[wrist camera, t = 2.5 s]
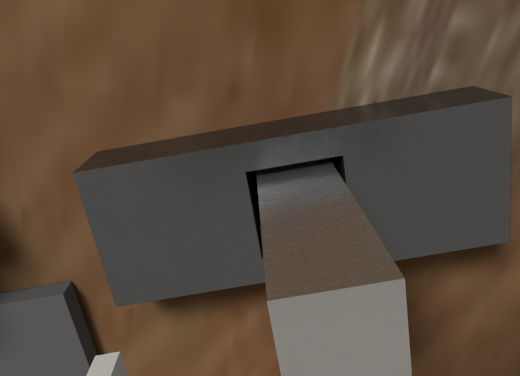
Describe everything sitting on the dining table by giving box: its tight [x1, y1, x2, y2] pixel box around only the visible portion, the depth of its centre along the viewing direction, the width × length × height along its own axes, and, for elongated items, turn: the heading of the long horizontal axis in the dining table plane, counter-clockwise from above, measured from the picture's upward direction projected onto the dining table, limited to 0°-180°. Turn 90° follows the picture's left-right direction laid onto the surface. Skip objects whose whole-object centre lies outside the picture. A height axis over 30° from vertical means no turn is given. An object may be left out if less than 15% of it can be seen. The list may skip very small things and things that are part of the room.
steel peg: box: [256, 158, 412, 376], centre depth 21 cm, size 4×4×15 cm
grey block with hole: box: [73, 86, 512, 307], centre depth 26 cm, size 8×22×4 cm, turn 100°
